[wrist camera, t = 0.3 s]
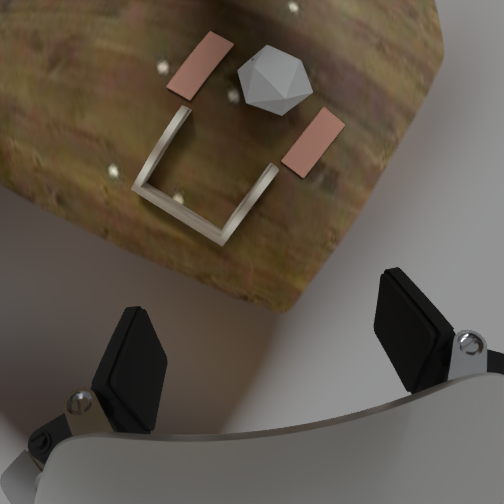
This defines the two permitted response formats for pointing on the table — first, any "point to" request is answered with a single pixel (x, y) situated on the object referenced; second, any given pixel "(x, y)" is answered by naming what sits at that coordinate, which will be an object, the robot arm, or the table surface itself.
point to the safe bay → (183, 212)
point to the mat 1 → (199, 65)
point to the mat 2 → (313, 142)
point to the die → (274, 81)
